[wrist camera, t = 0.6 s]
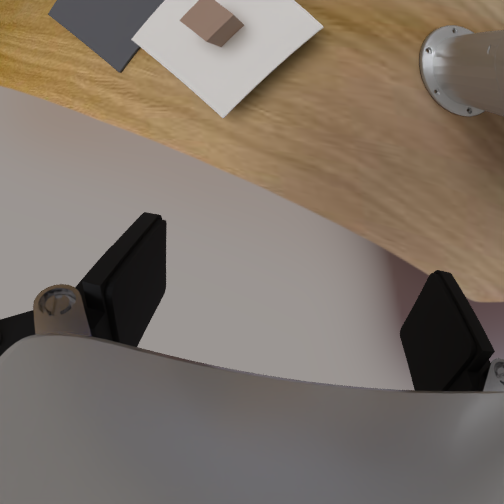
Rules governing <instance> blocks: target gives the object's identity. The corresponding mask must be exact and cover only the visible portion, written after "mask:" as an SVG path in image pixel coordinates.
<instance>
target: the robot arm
mask: <svg viewBox="0 0 504 504" xmlns="http://www.w3.org/2000/svg"><path fill="white" fill-rule="evenodd" d="M452 30H453V31H452ZM426 49H427V50H428V53H427V52H426ZM419 64H420V72H421V75H422V79H423V82H424V84H425V86H426V88H427V90H428V91H429V93H430V94H431V96H432V97H433V98H434V99H435V101H436V102H437V103H438V104H439V105H441V106H442V107H443V108H444V109H446V110H448V111H450V112H452V113H455V114H457V115H461V116H475V115H479V114H481V113H483V112H484V111H487V112H491V113H494V114H497V115H500V116H503V117H504V30H498V31H489V32H480V33H473V32H472V31H470V30H468V29H466V28H463V27H460V26H444V27H440V28H438V29H435V30H434V31H433V32H431V33H430V34H429V35H428V36H427V37H426V39H425V40H424V42H423V44H422V47H421V51H420V59H419ZM434 90H436V93H434ZM467 109H468V111H467ZM165 289H166V221H165V220H162V217H161V215H157V214H151V213H146V212H144V213H143V214H142V215H141V216H140V217H139V218H138V219H137V220H136V221H135V222H134V223H133V224H132V225H131V226H130V227H129V228H128V230H127V231H126V232H125V233H124V234H123V235H122V236H121V237H120V238H119V239H118V240H117V241H116V243H115V244H114V245H113V246H111V247H110V248H109V249H108V251H106V253H105V254H104V255H103V256H102V257H101V258H100V259H99V260H98V262H97V263H96V264H95V265H94V266H93V267H92V269H91V270H90V271H89V272H88V273H87V274H86V275H85V277H84V278H83V279H82V280H81V281H80V282H79V284H78V285H77V286H76V287H72V286H70V285H63V284H60V285H54V286H51V287H48V288H46V289H44V290H43V291H41V292H40V293H39V294H38V295H37V297H36V298H35V300H34V305H33V311H29V312H26V313H22V314H18V315H15V316H11V317H8V318H4V319H1V320H0V504H504V360H503V359H499V358H498V359H494V360H493V361H492V362H491V363H490V361H489V358H490V357H491V355H492V354H493V353H494V352H495V351H494V349H493V347H492V345H491V343H490V341H489V339H488V337H487V335H486V333H485V331H484V329H483V328H482V326H481V324H480V322H479V320H478V318H477V316H476V315H475V313H474V311H473V309H472V308H471V306H470V304H469V302H468V300H467V299H466V297H465V295H464V294H463V292H462V290H461V289H460V287H459V285H458V284H457V282H456V280H455V279H454V277H453V276H452V274H451V273H449V272H444V271H440V270H436V271H435V272H434V273H431V274H430V275H429V277H428V279H427V281H426V283H425V285H424V287H423V289H422V291H421V293H420V295H419V297H418V299H417V300H416V302H415V304H414V306H413V308H412V310H411V311H410V313H409V315H408V317H407V319H406V321H405V322H404V324H403V326H402V328H401V330H400V338H401V341H402V345H403V348H404V352H405V355H406V358H407V362H408V366H409V370H410V374H411V377H412V381H413V385H414V389H415V391H414V390H393V389H378V388H364V387H353V386H343V385H333V384H324V383H316V382H307V381H300V380H293V379H287V378H280V377H274V376H267V375H261V374H255V373H250V372H244V371H239V370H233V369H228V368H223V367H219V366H214V365H209V364H204V363H200V362H195V361H191V360H186V359H182V358H178V357H174V356H170V355H165V354H161V353H157V352H154V351H150V350H145V349H142V348H138V347H137V346H138V344H139V341H140V340H141V338H142V336H143V334H144V332H145V330H146V328H147V326H148V324H149V322H150V320H151V318H152V316H153V314H154V312H155V310H156V309H157V306H158V305H159V303H160V301H161V299H162V297H163V295H164V293H165Z"/></svg>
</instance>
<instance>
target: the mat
mask: <svg viewBox="0 0 504 504" xmlns="http://www.w3.org/2000/svg"><path fill="white" fill-rule="evenodd" d="M164 1H165V0H57V1H56V2H55V4H54V6H53V7H52V9H51V10H50V12H49V13H48V15H50V16H51V17H52V18H53V19H55V20H56V21H57V22H58V23H60V24H61V25H62V26H63V27H65V28H66V29H67V30H68V31H70V32H71V33H72V34H73V35H75V36H76V37H77V38H78V39H80V40H81V41H82V42H83V43H85V44H86V45H87V46H88V47H89V48H91V49H92V50H93V51H94V52H95V53H97V54H98V55H99V56H100V57H101V58H103V59H104V60H105V61H106V62H107V63H109V64H110V65H111V66H112V67H113V68H115V69H116V70H117V71H118V72H122V71H123V69H124V68H125V67H126V65H127V64H128V63H129V61H130V60H131V59H132V57H133V56H134V55H135V54H136V52H137V51H138V50H139V49H140V46H139V45H137V44H136V43H135V42H134V41H132V40H131V39H132V38H133V37H134V35H135V34H136V33H137V32H138V30H139V29H140V28H141V27H142V26H143V24H144V23H145V22H146V21H147V20H148V18H149V17H150V16H151V15H152V14H153V13H154V12H155V10H156V9H157V8H158V7H159V6H160V5H161V4H162V3H163V2H164Z"/></svg>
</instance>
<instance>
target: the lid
mask: <svg viewBox="0 0 504 504" xmlns="http://www.w3.org/2000/svg"><path fill="white" fill-rule="evenodd" d="M322 28H323V26H322V25H321V24H320V23H319V22H318V21H317V20H316V19H315V18H314V17H313V16H311V15H310V14H309V13H308V12H307V11H306V10H305V9H304V8H302V7H301V6H300V5H299V4H298V3H297V2H295V1H294V0H165V1H164V2H163V3H162V4H161V5H160V6H159V7H158V8H157V9H156V10H155V12H154V13H153V14H152V15H151V16H150V17H149V18H148V20H147V21H146V22H145V23H144V24H143V26H142V27H141V28H140V29H139V30H138V32H137V33H136V34H135V35H134V37H133V38H132V39H131V40H132V41H134V42H135V43H136V44H137V45H139V46H140V47H141V48H142V49H144V50H145V51H146V52H147V53H149V54H150V55H151V56H152V57H153V58H155V59H156V60H157V61H158V62H159V63H161V64H162V65H163V66H164V67H165V68H167V69H168V70H169V71H170V72H171V73H173V74H174V75H175V76H176V77H177V78H178V79H180V80H181V81H182V82H183V83H184V84H185V85H186V86H188V87H189V88H190V89H191V90H192V91H193V92H194V93H196V94H197V95H198V96H199V97H200V98H201V99H202V100H203V101H205V102H206V103H207V104H208V105H209V106H210V107H211V108H212V109H213V110H214V111H216V112H217V113H218V114H219V115H220V116H221V117H222V118H224V117H226V116H227V115H228V114H229V113H230V112H231V111H232V110H233V109H234V108H235V107H236V106H237V105H238V104H239V103H240V102H241V101H242V100H243V99H244V98H245V97H246V96H247V95H248V94H249V93H250V92H251V91H252V90H253V89H254V88H255V87H256V86H257V85H258V84H259V83H260V82H261V81H263V80H264V79H265V78H266V77H267V76H268V75H269V74H270V73H271V72H272V71H273V70H274V69H276V68H277V67H278V66H279V65H280V64H281V63H282V62H283V61H285V60H286V59H287V58H288V57H289V56H290V55H291V54H293V53H294V52H295V51H296V50H297V49H298V48H299V47H301V46H302V45H303V44H304V43H305V42H307V41H308V40H309V39H310V38H311V37H313V36H314V35H315V34H316V33H318V32H319V31H320V30H321V29H322Z"/></svg>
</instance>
